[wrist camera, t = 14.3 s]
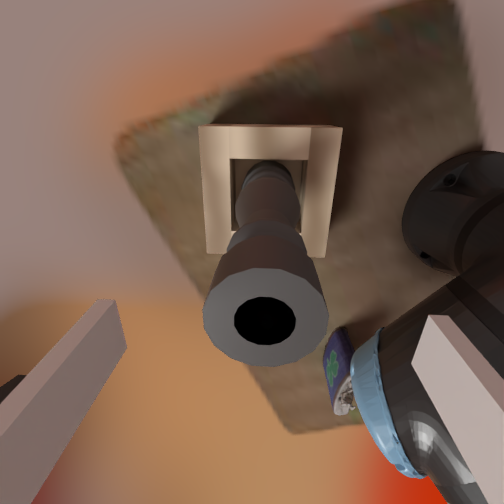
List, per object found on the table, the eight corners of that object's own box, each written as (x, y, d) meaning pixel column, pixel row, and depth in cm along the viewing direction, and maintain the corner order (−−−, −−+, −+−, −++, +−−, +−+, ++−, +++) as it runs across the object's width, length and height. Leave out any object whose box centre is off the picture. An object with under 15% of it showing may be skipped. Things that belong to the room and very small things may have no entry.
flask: (334, 368, 50) (350, 429, 40) (318, 365, 50) (329, 426, 40) (350, 327, 45) (371, 385, 36) (332, 325, 45) (348, 382, 36)
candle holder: (296, 205, 36) (338, 365, 14) (248, 213, 37) (214, 375, 14) (290, 155, 33) (330, 251, 11) (238, 165, 34) (178, 272, 12)
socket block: (331, 125, 32) (343, 127, 27) (317, 237, 39) (324, 257, 33) (210, 123, 33) (198, 126, 28) (215, 234, 39) (207, 253, 34)
